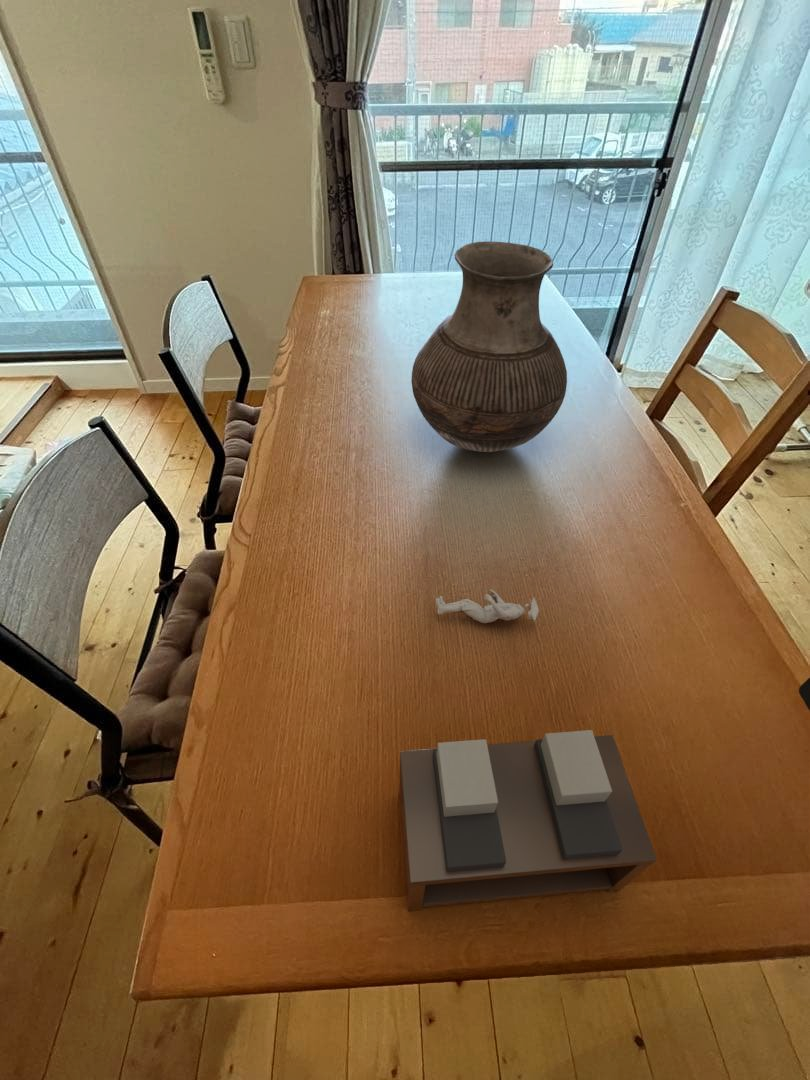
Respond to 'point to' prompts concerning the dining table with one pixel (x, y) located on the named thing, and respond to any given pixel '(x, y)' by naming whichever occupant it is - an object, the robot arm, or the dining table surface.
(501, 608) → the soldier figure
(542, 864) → the shoe rack
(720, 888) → the dining table surface
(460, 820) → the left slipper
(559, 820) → the right slipper
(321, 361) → the dining table surface
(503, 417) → the vase
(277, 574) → the dining table surface
